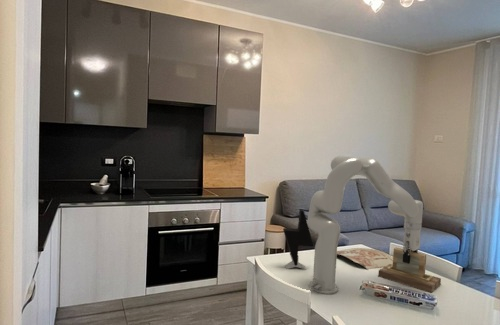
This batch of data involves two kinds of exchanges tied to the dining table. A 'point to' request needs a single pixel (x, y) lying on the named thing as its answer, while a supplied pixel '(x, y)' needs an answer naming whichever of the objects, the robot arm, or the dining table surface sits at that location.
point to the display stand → (410, 279)
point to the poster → (367, 257)
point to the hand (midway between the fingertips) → (409, 260)
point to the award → (298, 240)
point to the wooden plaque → (413, 267)
